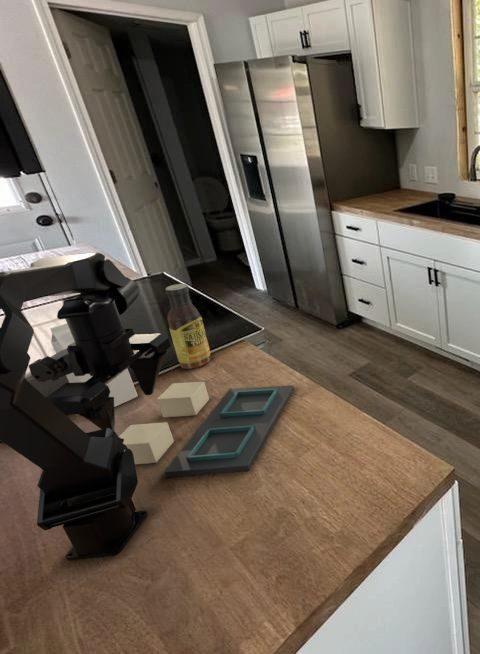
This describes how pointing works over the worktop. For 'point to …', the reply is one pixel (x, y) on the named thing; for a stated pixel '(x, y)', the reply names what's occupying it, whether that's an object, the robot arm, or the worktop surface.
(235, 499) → the worktop surface
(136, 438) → the pad
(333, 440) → the worktop surface
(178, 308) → the sauce bottle
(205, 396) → the pad
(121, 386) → the milk carton
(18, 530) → the worktop surface
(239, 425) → the back board
